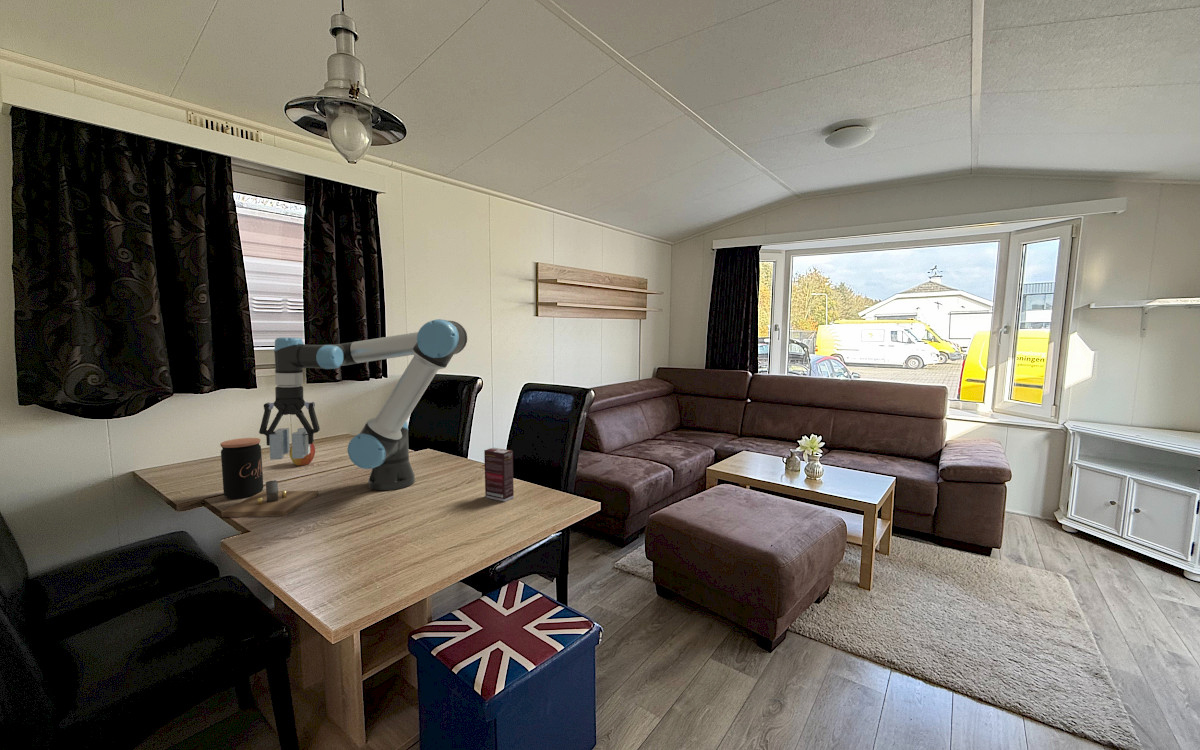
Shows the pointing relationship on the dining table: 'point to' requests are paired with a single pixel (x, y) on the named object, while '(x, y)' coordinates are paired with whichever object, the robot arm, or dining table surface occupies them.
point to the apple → (306, 459)
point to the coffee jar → (241, 468)
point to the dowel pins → (260, 499)
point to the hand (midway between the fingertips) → (290, 454)
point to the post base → (270, 502)
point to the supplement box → (499, 474)
